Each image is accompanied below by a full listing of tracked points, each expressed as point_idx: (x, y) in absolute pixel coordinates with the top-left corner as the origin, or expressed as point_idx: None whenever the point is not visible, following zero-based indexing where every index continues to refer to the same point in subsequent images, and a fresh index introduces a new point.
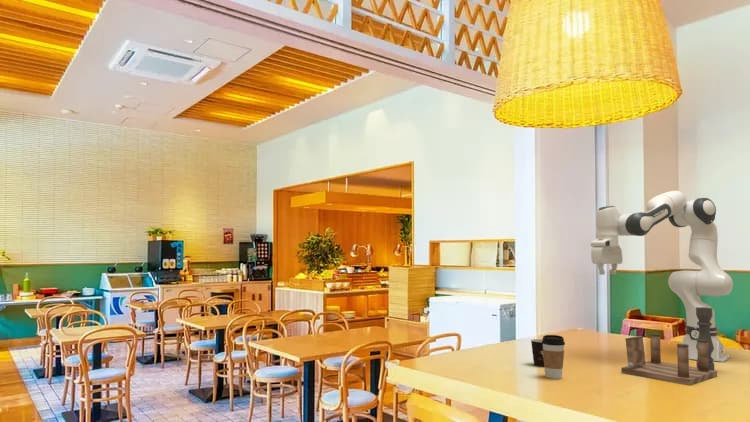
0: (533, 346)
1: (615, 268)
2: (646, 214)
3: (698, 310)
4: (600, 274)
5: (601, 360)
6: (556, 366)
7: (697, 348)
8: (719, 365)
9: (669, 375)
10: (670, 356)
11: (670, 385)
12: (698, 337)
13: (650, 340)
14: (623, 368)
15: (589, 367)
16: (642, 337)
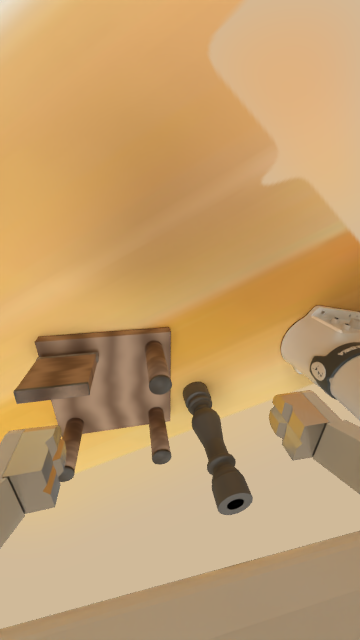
0: None
1: (340, 475)
2: None
3: (217, 497)
4: (15, 436)
5: (126, 237)
6: None
7: (195, 415)
8: (261, 380)
9: (60, 412)
10: (293, 301)
11: (33, 419)
12: (205, 432)
13: (152, 369)
14: (36, 345)
15: (15, 268)
16: (86, 394)
